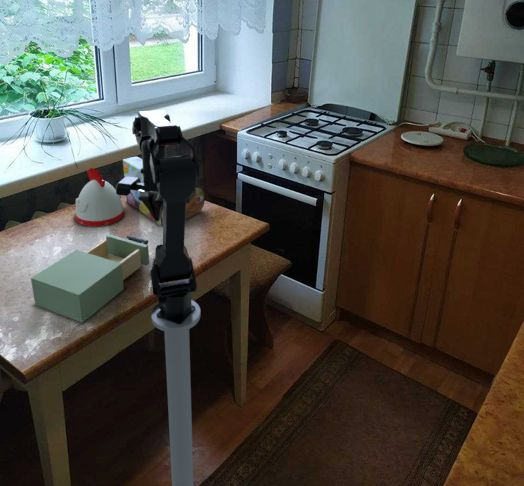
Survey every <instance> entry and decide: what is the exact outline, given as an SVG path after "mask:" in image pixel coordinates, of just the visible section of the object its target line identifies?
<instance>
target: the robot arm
mask: <svg viewBox="0 0 524 486" xmlns="http://www.w3.org/2000/svg"><path fill="white" fill-rule="evenodd" d="M131 131H132V135H134V136H135V141H136V144H137V146H138V148H139V150H140V153H141V159H142V163H143V168H142V169H140V171H141V173H142V174H143V180H144V183H141V180H140V179H139V178H137V177H128V176H126V177H125V178H124V177H123V178H122V179H121V180H120V181H119V182H117V183H116V185H115V190H116V194H117V195H121V196H125V197H126V196H127V195H129V194H130V193H131V190H136V191H138V192H139V194H140V197H138V200H140V201H142V202H143V203H144V205H145V206H146V207H147V209H148V210H149V212H150V213H151V215H152V216H153V218H154V220H155V221H159V220H160V218H161V215H162V212H163V225H162V244H161V243H160V244H157V245H156V246H155V249H154V252H155V254H154V258H155V263H153V262H152V265H151V269H150V280H151V287H152V294H153V295H154V296H156V297H157V299H158V304H159V309H160V311H159V312H158V313H157V314H156V316H157V317H159V318H162V319H165V320H168V321H171V322H173V323H176V324H182V323H183V322H184V321H185V320H186V318H187V317H188V316H189V315H190V314H191V313H192V312H193V311H194V310H195V306H193V305H191V300H192V293H197V287H198V285H197V280H196V275H195V269H194V263H193V259H192V257H191V256H190V255H189V252H188V249H187V247H186V245H185V238H186V237H185V236H186V220H185V218H186V203H189V202H190V201H191V200H192V199H193V198H194V196H195V195H196V188H197V187H196V186H197V179H199V178H200V166H199V162H198V158H197V154H196V150H195V147H194V146H193V145H192V144H191V143H190V142H189V141H188V140H187V139H186V137H184V136H183V133H182V128H181V126H180V125H177V124H173V123H172V122H171V117H170V115H169V114H168V113H167V111H166V110H165V109H164V110H163V109H161V110H143V111H138V112H137V116H134V120H133V122H132V128H131ZM176 145H177V148H178V149H179V150H180V151H181V152H182V153H183V154H184V155H176V156H175V155H174V156H168V155H167V146H176ZM157 196H158V198H157ZM155 221H154V222H155ZM153 295H152V296H153Z"/></svg>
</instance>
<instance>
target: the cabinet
mask: <svg viewBox="0 0 524 486" xmlns="http://www.w3.org/2000/svg"><path fill="white" fill-rule="evenodd" d="M30 281H31V287H32V294H33V300H34V304H35V306H37V307H40V308H43V309H45V310H48V311H50V312H53V313H55V314H58V315H61V316H64V317H66V318H69V319H71V320H74V321H77V322H80V323H84V322H85V321H87V320H88V319H89V318H90V317H92V316H93V315H94V314H95V313H97V312H98V311H99V310H100V309H101V308H103V307H105V305H106V304H107V303H109V302H110V301H111V300H113V299H114V298H115V297H116V296H117V295H119V294H120V293H121V292H122V291H124V289H125V287H124V280H123V274H122V264H121V263H118V262H115V261H111V260H108V259H105V258H102V257H98V256H95V255H92V254H89V253H86V251H82V250H79V249H75V250H73V251H71V252H70V253H68V254H66V256H64V257H62V258H61V259H59V260H58V261H56V262H54V263H52V264H51V265H49V266H48V267H46V268H44V269H43V270H42V271H40V272H38V273H36V274H35V275H33V276H32V277H30Z"/></svg>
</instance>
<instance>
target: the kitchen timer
mask: <svg viewBox="0 0 524 486" xmlns="http://www.w3.org/2000/svg"><path fill="white" fill-rule="evenodd" d="M86 173H87V176H88V179H89V181H88V182H87V183H86V184H85V185H84V186H83V188H82V189H81V190H80V193H79V195H78V197H77V198H75V218H76V219H75V220H76V222H77V223H79V224H81V225H83V226H87V227H102V226H108V225H112V224H114V223H117V222H119V221H120V220H122V218H123V217H124V214H125V210H124V205H123V202H122V200H121V197H122V195H117V194H116V188H115V187H114V186H113V185H112V184H111V183H109V181H106V179H105V180H104V179H103V175H101V174H100V170H99V169H98V170H97V169H96V168H95V169H94V167H91V168H89V170H87V171H86Z"/></svg>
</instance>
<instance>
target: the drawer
mask: <svg viewBox="0 0 524 486" xmlns="http://www.w3.org/2000/svg"><path fill="white" fill-rule="evenodd" d="M105 236H106V238H105V239H103V240H102V241H100V242H98V243H97V244H96V245H94V246H92V247H91V248H89V249H88V250H86V251H85V252H86V253H89V254H92V255H95V256H98V257H102V258H105V259H108V260H111V261H115V262H118V263H121V264H122V274H123V281H125V280H126V279H127V278H128V277H129V276H131V275H132V274H133V273H135V272H136V271H137V270H138V269H140V268H141V267H142V265H143V266H148V265H150V251H149V240H148V239H144V238H141V237H139V236H134V235H131V234H128V235H126V238H124V237H121V236H117V235H114V234H110V233H109V234H107V235H105Z"/></svg>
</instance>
